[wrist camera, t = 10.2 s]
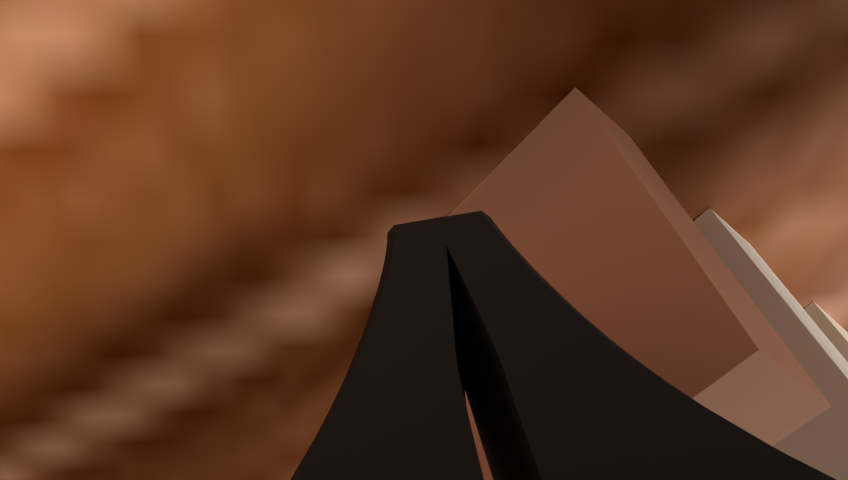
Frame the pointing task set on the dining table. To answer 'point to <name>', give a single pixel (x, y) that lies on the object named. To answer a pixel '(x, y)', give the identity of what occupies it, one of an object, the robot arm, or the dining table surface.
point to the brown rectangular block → (640, 270)
